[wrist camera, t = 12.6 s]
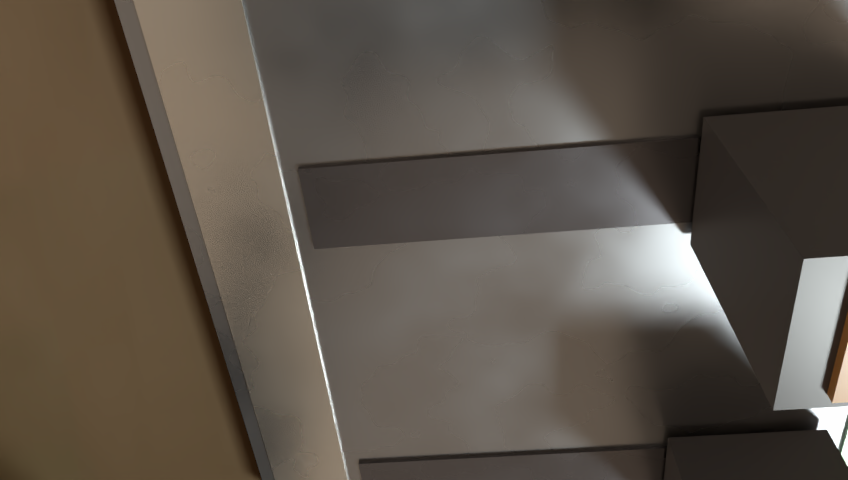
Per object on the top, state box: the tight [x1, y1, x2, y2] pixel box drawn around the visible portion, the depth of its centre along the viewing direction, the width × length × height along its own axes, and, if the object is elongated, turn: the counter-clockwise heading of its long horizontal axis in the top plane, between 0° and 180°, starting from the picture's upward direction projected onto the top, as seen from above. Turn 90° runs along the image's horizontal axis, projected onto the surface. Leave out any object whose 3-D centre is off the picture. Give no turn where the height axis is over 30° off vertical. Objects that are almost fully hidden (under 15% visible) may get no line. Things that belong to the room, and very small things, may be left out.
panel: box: [114, 0, 848, 480], centre depth 17 cm, size 18×23×2 cm
